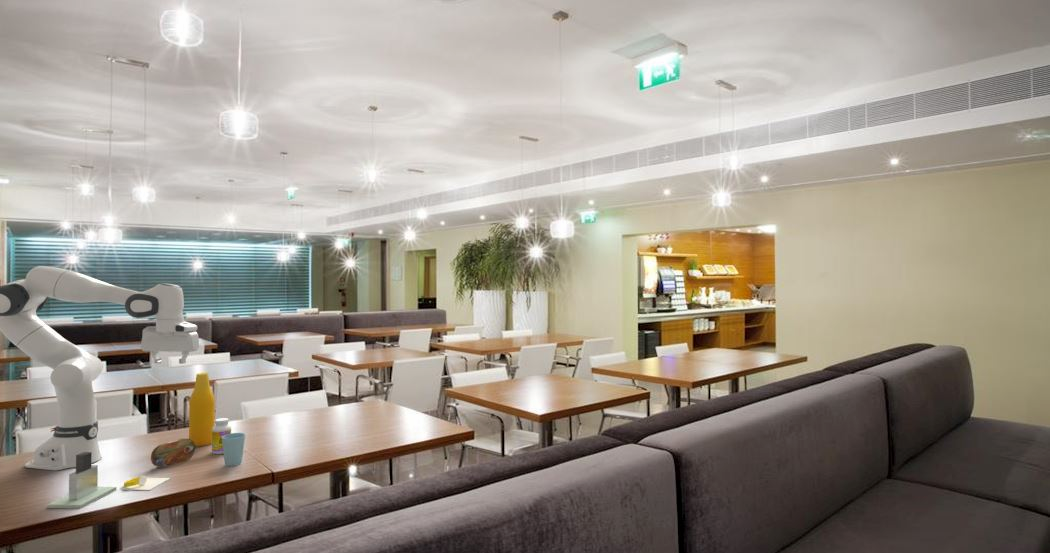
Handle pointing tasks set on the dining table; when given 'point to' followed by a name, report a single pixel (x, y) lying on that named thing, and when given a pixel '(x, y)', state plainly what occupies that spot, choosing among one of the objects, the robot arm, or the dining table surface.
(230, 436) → the cup
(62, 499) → the plate
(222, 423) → the supplement bottle
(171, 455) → the tin
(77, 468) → the grey upright panel
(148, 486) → the face down mat
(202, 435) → the yellow bottle
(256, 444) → the dining table surface
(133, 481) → the yellow ring
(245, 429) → the dining table surface
